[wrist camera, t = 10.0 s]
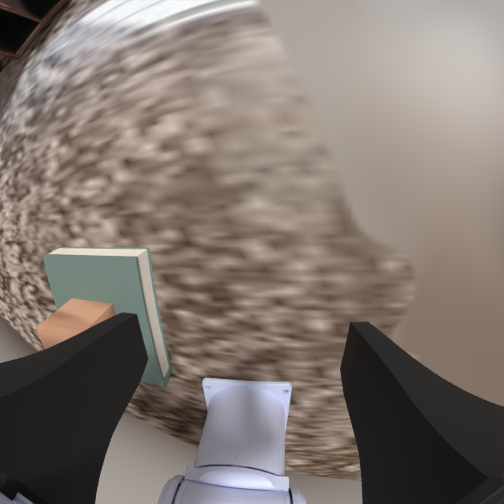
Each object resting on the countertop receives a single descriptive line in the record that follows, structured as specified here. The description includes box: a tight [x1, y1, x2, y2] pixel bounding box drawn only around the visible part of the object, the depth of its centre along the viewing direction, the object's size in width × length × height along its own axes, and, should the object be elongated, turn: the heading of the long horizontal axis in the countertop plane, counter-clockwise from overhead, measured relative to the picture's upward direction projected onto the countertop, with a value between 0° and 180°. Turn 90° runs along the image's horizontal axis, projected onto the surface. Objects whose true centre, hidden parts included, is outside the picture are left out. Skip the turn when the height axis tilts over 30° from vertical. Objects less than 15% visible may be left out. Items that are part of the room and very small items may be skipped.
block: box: [36, 298, 116, 349], centre depth 17 cm, size 4×4×5 cm
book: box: [43, 247, 172, 387], centre depth 20 cm, size 12×10×2 cm
